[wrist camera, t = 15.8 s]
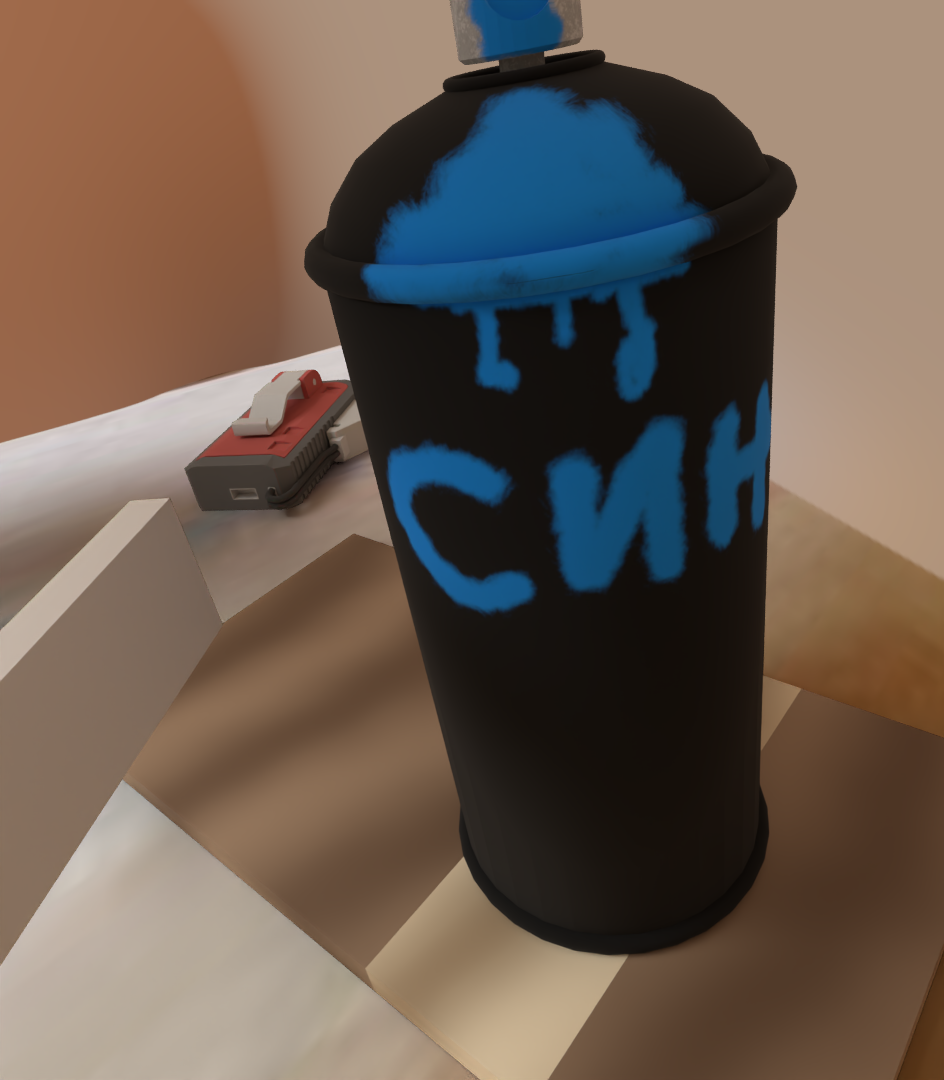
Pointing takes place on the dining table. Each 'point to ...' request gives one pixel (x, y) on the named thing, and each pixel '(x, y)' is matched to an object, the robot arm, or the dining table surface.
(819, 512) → the dining table surface
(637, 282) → the aerosol can
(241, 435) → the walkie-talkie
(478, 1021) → the board
